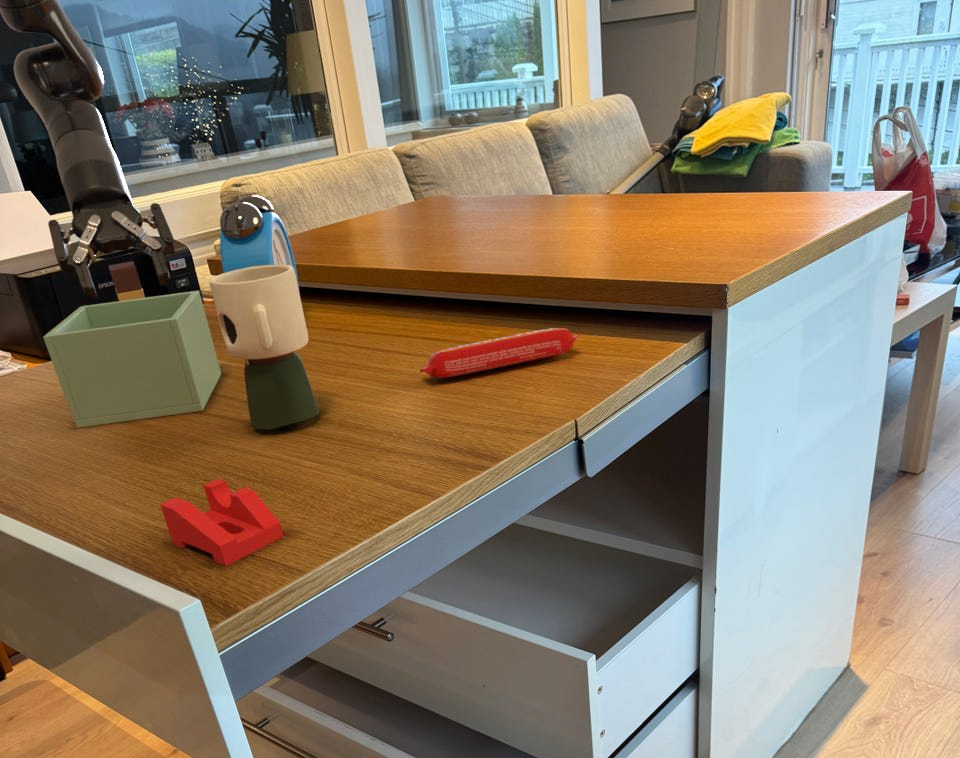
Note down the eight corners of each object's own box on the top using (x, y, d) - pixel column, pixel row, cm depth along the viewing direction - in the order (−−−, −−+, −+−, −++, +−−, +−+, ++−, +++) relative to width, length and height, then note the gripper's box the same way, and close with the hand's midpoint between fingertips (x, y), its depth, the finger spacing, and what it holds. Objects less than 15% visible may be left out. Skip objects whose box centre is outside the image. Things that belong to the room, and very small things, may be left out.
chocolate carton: (130, 338, 117) (107, 265, 112) (154, 333, 118) (133, 261, 113) (133, 345, 114) (109, 270, 109) (158, 340, 114) (135, 266, 110)
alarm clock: (289, 341, 107) (258, 203, 98) (238, 347, 107) (203, 210, 99) (306, 314, 118) (280, 188, 109) (260, 319, 118) (230, 194, 110)
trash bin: (76, 428, 87) (42, 336, 83) (108, 389, 98) (80, 306, 93) (202, 411, 88) (176, 318, 83) (221, 374, 98) (199, 290, 93)
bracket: (173, 543, 63) (160, 504, 61) (229, 516, 66) (218, 478, 64) (225, 566, 59) (213, 525, 57) (283, 536, 62) (273, 496, 60)
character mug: (246, 412, 86) (209, 268, 79) (320, 398, 87) (290, 256, 80) (248, 450, 77) (206, 293, 70) (330, 435, 78) (297, 278, 71)
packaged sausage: (569, 348, 92) (567, 318, 90) (583, 356, 89) (582, 326, 87) (419, 379, 89) (414, 348, 87) (429, 389, 86) (424, 357, 84)
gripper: (26, 166, 109) (61, 279, 107) (145, 149, 113) (182, 257, 110) (43, 210, 117) (76, 317, 114) (154, 192, 120) (189, 295, 117)
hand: (128, 287), depth 112 cm, fingers open, 8 cm apart
